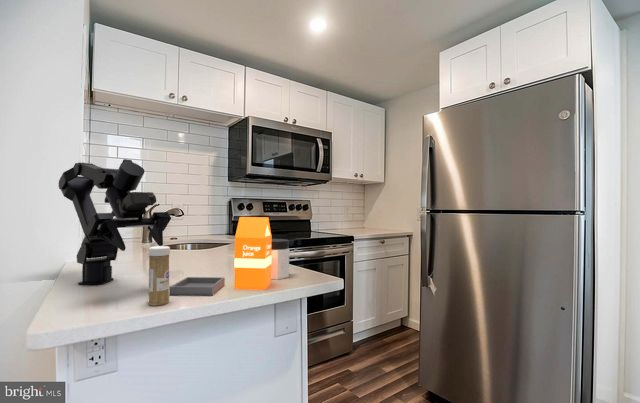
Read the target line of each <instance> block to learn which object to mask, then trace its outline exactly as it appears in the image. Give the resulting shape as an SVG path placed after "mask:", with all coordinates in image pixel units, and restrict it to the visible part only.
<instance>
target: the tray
mask: <svg viewBox="0 0 640 403" xmlns="http://www.w3.org/2000/svg"><path fill="white" fill-rule="evenodd" d="M225 280H226V279H225V277H221V276H220V277H218V276H217V277H209V276H208V277H207V276H206V277H205V276H204V277H203V276H202V277H201V276H197V277H196V276H194V277H193V276H187V277H185V278H183V279H181V280H179V281H178V282H176V283H174V284H172V285H171V286H170V285H169V296H177V297H178V296H185V297H186V296H187V297H188V296H190V297H193V296H199V297H202V296H203V297H211V296H214V295H215V294H216V293H217V292H218V291H220V290H221V288H223V287H224V286H225V282H226V281H225Z"/></svg>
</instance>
